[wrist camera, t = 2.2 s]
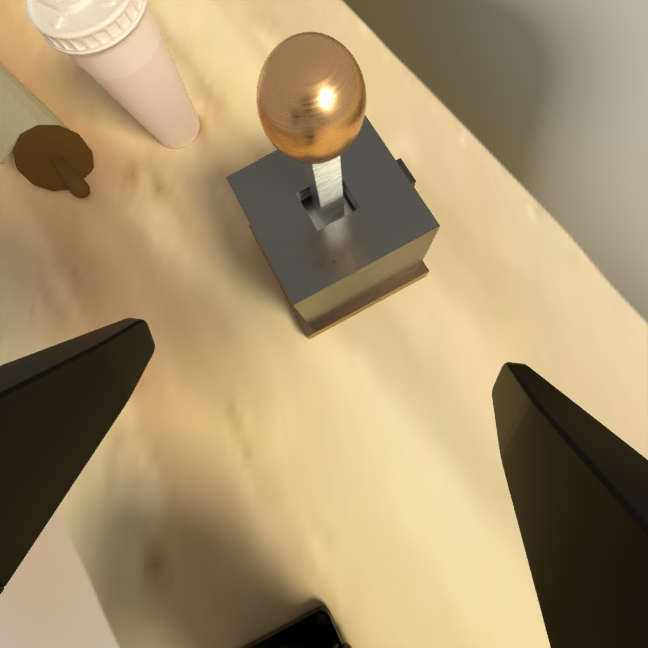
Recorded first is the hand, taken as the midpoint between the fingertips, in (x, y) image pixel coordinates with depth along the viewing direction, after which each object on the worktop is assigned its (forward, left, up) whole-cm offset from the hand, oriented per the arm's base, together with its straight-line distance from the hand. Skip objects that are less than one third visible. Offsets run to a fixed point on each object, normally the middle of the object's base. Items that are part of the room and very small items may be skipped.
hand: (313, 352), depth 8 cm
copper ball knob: (+4, +8, -9) cm, 12 cm away
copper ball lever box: (+4, +8, -14) cm, 16 cm away
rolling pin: (-15, +35, -14) cm, 41 cm away
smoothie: (-2, +24, -14) cm, 27 cm away
